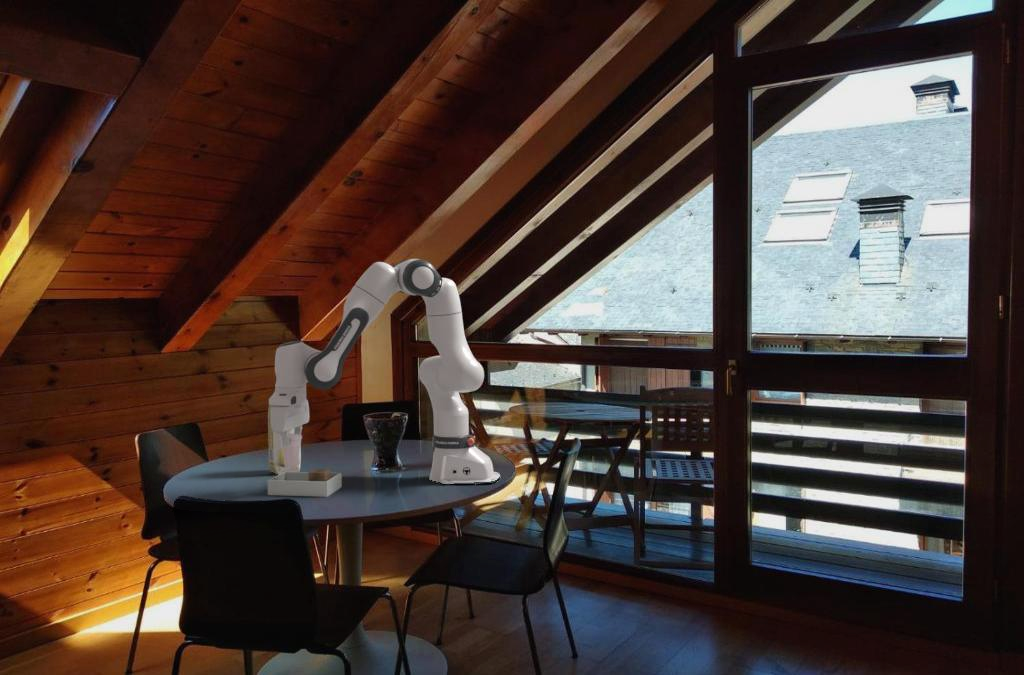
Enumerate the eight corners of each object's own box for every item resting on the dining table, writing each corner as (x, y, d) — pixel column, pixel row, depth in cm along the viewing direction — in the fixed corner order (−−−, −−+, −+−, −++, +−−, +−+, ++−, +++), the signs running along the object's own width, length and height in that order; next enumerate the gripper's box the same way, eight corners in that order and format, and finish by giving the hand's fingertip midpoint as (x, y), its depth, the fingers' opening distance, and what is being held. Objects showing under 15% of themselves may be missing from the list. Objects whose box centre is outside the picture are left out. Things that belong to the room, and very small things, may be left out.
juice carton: (276, 476, 266) (275, 402, 264) (266, 472, 272) (265, 400, 270) (303, 472, 271) (302, 400, 270) (293, 468, 278) (291, 398, 276)
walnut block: (331, 489, 244) (330, 469, 244) (325, 493, 239) (324, 473, 239) (315, 488, 245) (314, 469, 244) (308, 492, 240) (308, 472, 239)
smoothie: (279, 466, 244) (279, 419, 244) (301, 465, 246) (301, 418, 246) (281, 470, 238) (280, 422, 238) (303, 469, 240) (303, 421, 240)
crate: (341, 489, 247) (341, 473, 247) (327, 499, 235) (327, 482, 235) (284, 487, 250) (284, 471, 249) (267, 497, 238) (267, 480, 237)
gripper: (294, 392, 252) (295, 436, 253) (265, 400, 232) (266, 448, 233) (314, 392, 251) (315, 437, 252) (287, 400, 231) (287, 449, 232)
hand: (291, 442), depth 242 cm, fingers closed on smoothie, 6 cm apart
